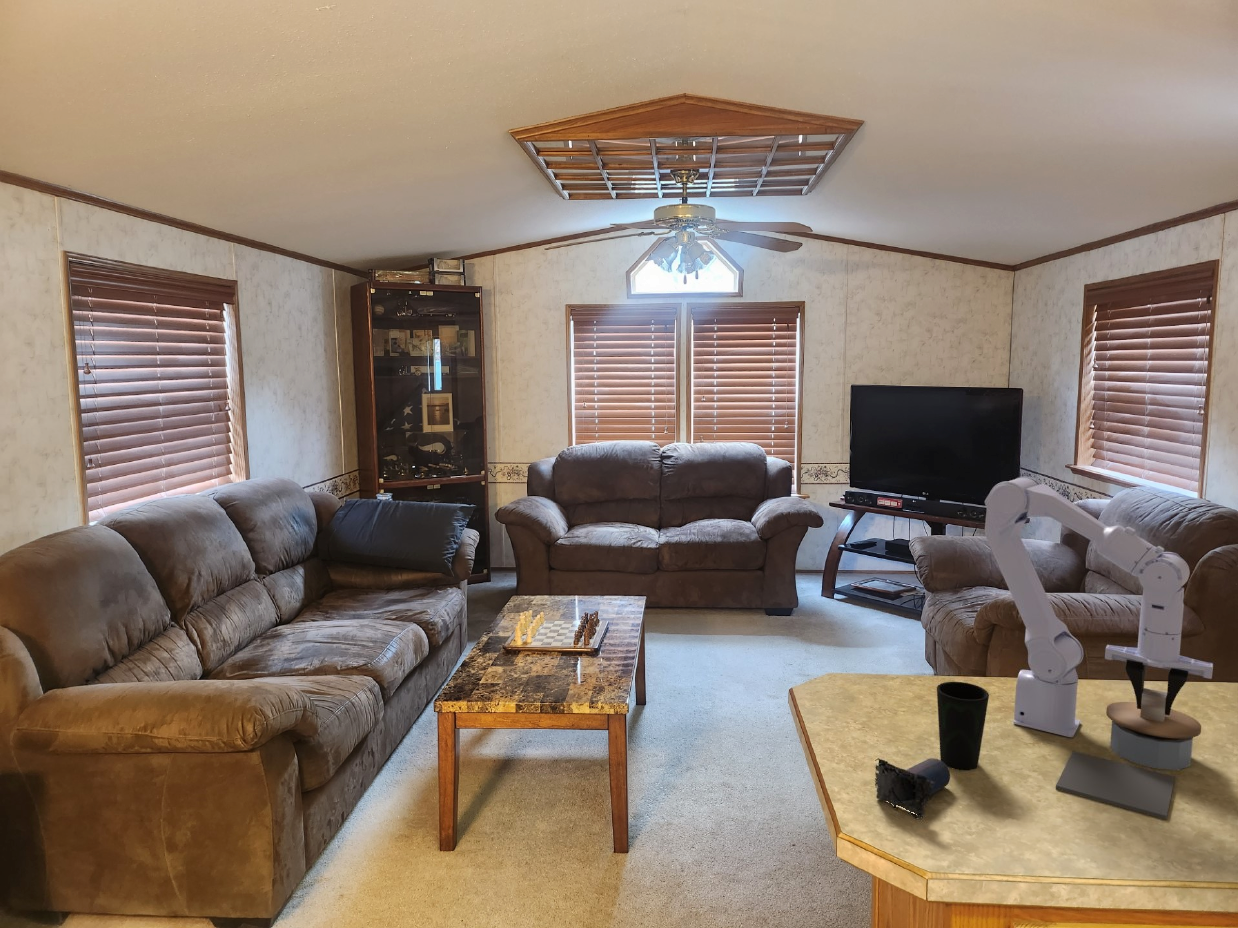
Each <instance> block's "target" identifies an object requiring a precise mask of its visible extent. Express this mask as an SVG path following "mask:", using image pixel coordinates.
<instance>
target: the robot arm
mask: <svg viewBox="0 0 1238 928" xmlns="http://www.w3.org/2000/svg"><path fill="white" fill-rule="evenodd" d="M984 505H985V507H986V514H985V524H984V535H985V539H986V540H987V543H988V545H989V548H990V549H991V552H992V554H993V557H994V558H995V561H996V563H997V565H998V568H999V570H1000V572H1001V574H1002V576H1003V579H1004V581H1005V583H1006V586H1007V588H1008V590H1009V592H1010V595H1011V597H1012V599H1013V602H1014V605H1015V606H1016V608H1017V611H1018V613H1019V615H1020V617H1021V619H1022V621H1023V624H1024V626H1025V634H1024V635H1025V636H1024V644H1025V646H1026V649H1027V654H1028V655H1027V663H1028V666H1029V669H1030V670H1028V669H1020V670H1019V673H1018V675H1017V677H1016V685H1015V696H1014V697H1015V698H1014V711H1013V713H1014V714H1013V720H1012V723H1013V724H1015V725H1019V726H1022V727H1025V728H1030V729H1033V730H1034V729H1035V730H1038V731H1043V732H1046V733H1052V734H1055V735H1059V736H1063V737H1068V738H1073V737H1074V736H1075V734H1076V732H1077V730H1078V728H1079V726H1080V725H1081V719H1079V718H1076V714H1077V713H1076V711H1077V710H1076V709H1077V698H1078V697H1077V696H1078V685H1079V684H1078V682H1079V675H1078V673H1077V671H1076V667H1077V666H1079V665H1080V664H1081V662H1082V661H1083V658H1084V648H1083V646H1082V644H1081V642H1080V641H1079V640H1078V639H1077V638H1076V637H1075V636H1073V635H1072V634H1071V632H1070V631H1069V628H1068V626H1067V624H1066V623H1064V622H1063V621H1062V620H1061V619H1059V618H1058V617H1057V614H1056V613H1055V611H1054V608H1053V606H1052V603H1051V602H1050V599H1049V597H1048V596H1047V593H1046V590H1045V588H1044V585H1043V584H1042V582H1041V580H1040V577H1039V576H1038V573H1037V571H1036V569H1035V567H1034V564H1033V562H1032V559H1031V557H1030V556H1029V553H1028V551H1027V549H1026V546H1025V545H1024V542H1023V540H1022V538H1021V536H1020V533H1021V531H1022V528H1023V527H1024V526H1025V523H1026V521H1027V519H1028V518H1029V517H1033V518H1034V517H1035V518H1036V517H1041V518H1043V517H1047V518H1050V519H1053V520H1055V521H1056V522H1058V523H1059V524H1062V525H1063V526H1065V527H1066V528H1068V529H1070V530H1072V531H1074V532H1076V533H1078V534H1079V535H1081V536H1083V537H1085V539H1088V540H1089V541H1092V542H1093V543H1094V545H1095V548H1096V551H1097V553H1098V555H1100V556H1101V557H1103V558H1104V559H1106V560H1108V561H1109V562H1110V563H1112V564H1114V565H1116V566H1118V567H1119V568H1120V569H1122V570H1124V571H1125V572H1127V573H1128V574H1130V575H1131V576H1133V577H1137V578H1138V582H1139V584H1140V585H1141V587H1142V597H1141V601H1140V602H1141V603H1140V615H1139V627H1138V639H1137V641H1138V642H1137V647H1131V646H1130V647H1128V646H1119V645H1111V644H1107V645H1106V647H1105V650H1104V651H1105V653H1104V659H1105V660H1108V661H1113V660H1115V661H1116V660H1117V661H1121V662H1125V663H1126V664H1125V671H1126V674H1127V676H1128V679H1129V680H1130V682H1131V686H1132V688H1133V691H1134V695H1135V700H1136V701H1135V702H1137V709H1141V701H1142V693H1143V690H1144V688H1145V677H1146V676H1145V675H1146V668H1147V667H1154V668H1158V669H1164V670H1169V672H1168V676H1167V688H1166V689H1167V690H1166V691H1167V699H1166V704H1165V715H1170V712H1171V709H1172V705H1173V704H1174V701H1175V700H1176V697H1177V696H1178V694H1179V692H1180V690H1182V688H1183V687H1184V686H1185V684H1186V682H1187V681H1188V678H1189V674H1190V675H1195V676H1201V677H1203V678H1204V679H1209V680H1212V677H1213V669H1214V664H1213V662H1207V661H1202V660H1198V659H1194V658H1190V657H1188V656H1183V655H1180V653H1181V642H1182V629H1183V619H1184V607H1185V604H1184V598H1185V594H1184V593H1185V588H1184V587H1183V586H1184V585H1185V584H1186V583H1187V582H1188V580H1189V577H1190V573H1191V571H1190V567H1189V564H1188V563H1187V562H1186V561H1185V559H1183V558H1182V557H1181V556H1180V555H1179V554H1178V553H1177V552H1171V551H1165V548H1163V547H1162V546H1160V545H1158V546H1155V545H1153V544H1151V543H1150V542H1148V541H1147V540H1145V539H1144V538H1142V537H1140V536H1138V535H1137V534H1136V531H1137V530H1136V529H1134V528H1133V527H1131V526H1127V527H1125V528H1124V527H1123V526H1122V525H1112V526H1107V525H1106V524H1104V523H1103V522H1102V521H1100V520H1099V519H1097V518H1095V517H1094V516H1093V515H1091V514H1090V513H1088V512H1086V511H1085V510H1084V509H1082V508H1081V507H1080V506H1077V505H1076V504H1074V503H1073V502H1072V501H1070V500H1068V499H1067V498H1065V497H1064V496H1063V495H1061V494H1060V493H1059V492H1057V491H1056V490H1055V489H1054V488H1052V487H1050V486H1049V485H1047V484H1046V483H1040V482H1039V481H1038V480H1037V479H1035V478H1034V477H1031V476H1019V477H1016V478H1015V479H1012V480H1011V479H1010V480H1009V481H1001V482H999V483H997V484H995V485H994V486H993V487H992V489H991V490H990V492H989V494H988V495H987V496H986V498H985V500H984Z"/></svg>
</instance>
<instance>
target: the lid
mask: <svg viewBox="0 0 1238 928" xmlns="http://www.w3.org/2000/svg"><path fill="white" fill-rule="evenodd" d="M1166 699H1167V692H1165V691H1162V690H1161V691H1160V690H1155V689H1151V688H1147V687H1146V688H1145V687H1144V690H1143V693H1142V701H1141V709H1137V702H1136V701H1118V702H1112V703H1109V705H1107V706H1106V710H1105V711H1106V712H1105V715H1106V716H1107V718H1109V720H1111V722H1112V721H1114V722H1115V723H1117V724H1119V725H1121V726H1123V727H1126V728H1128V729H1131V730H1134V731H1137V732H1141V733H1145V734H1149V735H1153V736H1159V737H1166V738H1193V739H1194V738H1196V737H1199V736H1200V735H1201V733H1202V725H1201V723H1200V722H1199V721H1198V720H1197V719H1195V718H1194V717H1192V716H1191V715H1188V714H1186V713H1184V712H1181V711H1178V710H1176V709H1172V708H1171V712H1170V715H1165V704H1166Z"/></svg>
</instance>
